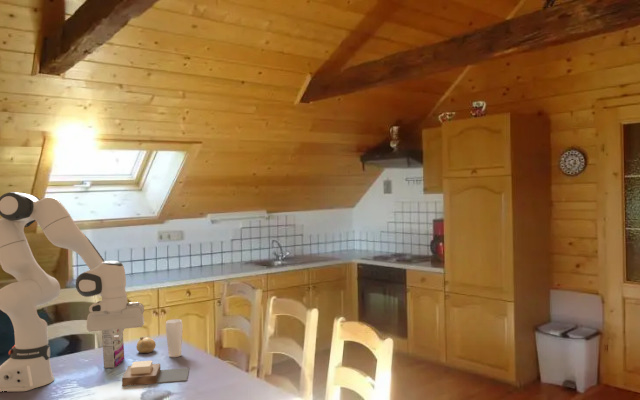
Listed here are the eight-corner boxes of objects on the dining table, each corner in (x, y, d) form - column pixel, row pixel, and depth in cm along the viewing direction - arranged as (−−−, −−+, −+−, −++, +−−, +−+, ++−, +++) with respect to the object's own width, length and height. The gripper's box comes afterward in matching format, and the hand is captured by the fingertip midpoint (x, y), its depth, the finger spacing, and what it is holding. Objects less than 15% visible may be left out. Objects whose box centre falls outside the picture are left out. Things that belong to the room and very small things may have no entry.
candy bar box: (112, 359, 239) (111, 321, 238) (124, 359, 239) (123, 320, 238) (102, 368, 228) (101, 328, 227) (115, 368, 228) (113, 327, 227)
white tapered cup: (166, 354, 244) (165, 319, 244) (182, 352, 246) (181, 318, 246) (167, 359, 238) (166, 323, 237) (183, 357, 240) (182, 322, 239)
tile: (130, 374, 211) (130, 367, 211) (133, 368, 218) (133, 361, 218) (150, 372, 212) (149, 366, 212) (152, 366, 219) (152, 360, 219)
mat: (156, 383, 209) (156, 382, 209) (160, 371, 223) (160, 370, 223) (186, 381, 211) (186, 379, 211) (189, 368, 225) (189, 367, 225)
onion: (151, 348, 254) (150, 332, 254) (158, 352, 248) (158, 336, 248) (134, 352, 249) (133, 336, 249) (141, 356, 243) (140, 339, 243)
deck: (122, 386, 207) (121, 378, 207) (128, 373, 221) (128, 365, 221) (156, 383, 209) (156, 375, 209) (160, 371, 223) (160, 363, 223)
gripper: (144, 300, 217) (146, 336, 218) (88, 304, 214) (90, 341, 214) (142, 303, 211) (144, 340, 211) (84, 308, 208) (86, 345, 208)
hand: (116, 340), depth 213 cm, fingers closed
